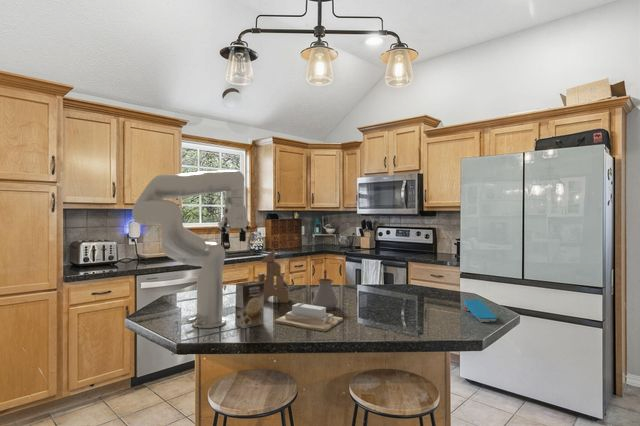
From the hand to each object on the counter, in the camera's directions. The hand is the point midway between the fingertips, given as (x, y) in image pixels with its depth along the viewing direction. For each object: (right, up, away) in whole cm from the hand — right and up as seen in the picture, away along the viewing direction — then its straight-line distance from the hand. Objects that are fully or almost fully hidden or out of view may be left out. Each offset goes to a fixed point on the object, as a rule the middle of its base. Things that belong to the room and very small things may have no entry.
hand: (234, 242), depth 161 cm
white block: (+32, -30, -10) cm, 45 cm away
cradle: (+32, -31, -10) cm, 46 cm away
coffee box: (+9, -31, -15) cm, 36 cm away
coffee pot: (+39, -31, +14) cm, 52 cm away
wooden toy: (+14, -31, +22) cm, 40 cm away
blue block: (+104, -32, -1) cm, 108 cm away
